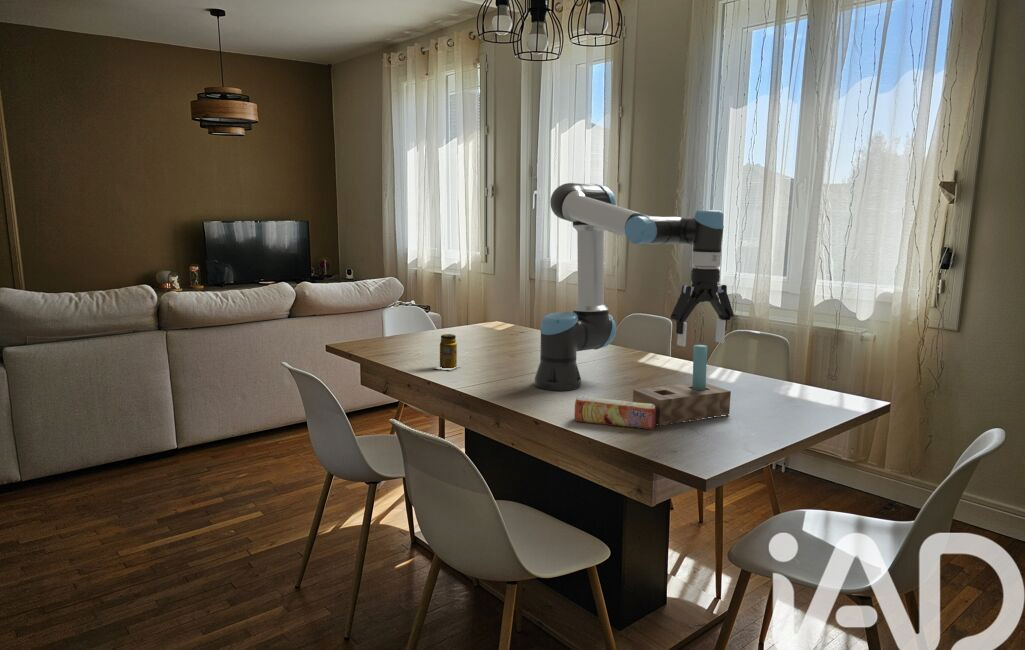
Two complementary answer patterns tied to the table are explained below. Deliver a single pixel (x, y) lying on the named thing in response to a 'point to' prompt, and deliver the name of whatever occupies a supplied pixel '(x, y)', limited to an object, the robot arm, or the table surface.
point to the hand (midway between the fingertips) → (700, 344)
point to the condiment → (448, 351)
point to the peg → (699, 367)
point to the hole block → (684, 402)
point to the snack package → (615, 412)
